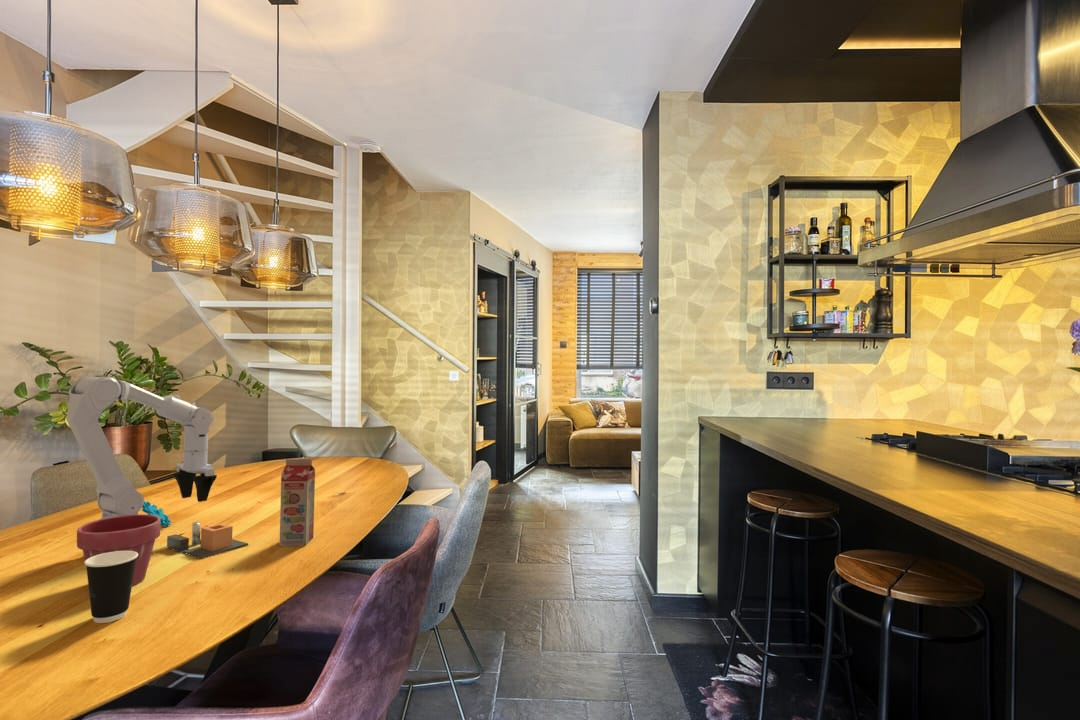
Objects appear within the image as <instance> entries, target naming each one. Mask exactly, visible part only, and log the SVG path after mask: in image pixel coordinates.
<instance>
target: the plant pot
mask: <svg viewBox="0 0 1080 720" xmlns="http://www.w3.org/2000/svg"><path fill="white" fill-rule="evenodd" d="M99 519H100V520H99ZM99 519H96V520H93V522H92V521H90V522H87V523H85V524H82V525H81V526H79V527H78V528H77V530H76V547H77V549H79V550H82V554H83V558H84V562H85V561H86V560H87V559H88V558H90V557H93V556H96V555H99V554H103V553H108V552H115V551H134V552H137V553H138V557H137V558H136V562H135V569H134V575H133V582H132V586H134V585H137V584H139V583H142V582H143V581H144V580H145V578H146V575H147V571H148V568H149V567H148V566H149V564H150V561H151V557H152V553H153V549H154V546H155V541H156V539H158V538H159V537H160V535H161V524H160V523H161V522H160V518H159V517H158V516H154V515H148V514H138V515H124V516H116V517H110V518H105V519H101V518H99Z"/></svg>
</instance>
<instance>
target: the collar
mask: <svg viewBox="0 0 1080 720" xmlns="http://www.w3.org/2000/svg"><path fill="white" fill-rule="evenodd" d="M233 528H234V527H233V526H232V525H229V524H224V523H216V524H213V525H210V526H204V527H200V546H201V548H203V549H206V550H210V551H216V550H219V549H223V548H226V547H230V546H232V539H233Z"/></svg>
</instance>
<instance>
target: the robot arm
mask: <svg viewBox="0 0 1080 720" xmlns="http://www.w3.org/2000/svg"><path fill="white" fill-rule="evenodd" d="M68 396H69V401H68V407H67V413H66V421H67V423H68V425H69V427H70V429H71V431H72V433H73V435H74V438H75V440H76V442H77V444H78V446H79V448H80V450H81V452H82V454H83V456H84V458H85V460H86V462H87V464H88V467H89V468H90V470H91V473H92V475H93V476H94V479H95V481H96V482H97V486H96V487H95V491H96V494H97V501H96V503H97V507H98V508H99V509H100V510H101V511H102V513H101V518H99V519H98V520H100V519H105V518H110V517H116V516H124V515H139V512H140V511H141V510H142V509H143V508H142V506H143V504H144V501H145V498H144V496H143V494H142V493H141V492H139V491H138V490H137V489H136V488H135V487H134V484H133V483H132V482H131V481H130V480H129V479H128V478H127V477H126V476H125V475H124V473H123V471H122V469H121V467H120V465H119V462H118V460H117V458H116V455H115V453H114V452H113V450H112V447H111V445H110V442H109V441H108V438H107V437H106V435H105V433H104V431H103V428H102V426H101V423H100V421H99V417H100V416H101V414H103V413H104V410H106V409H107V408H108V407H109V406H110V405H112V404H113V403H114V402H115V401H117V400H129V401H132V402H135V403H138V404H140V405H143V406H146V407H147V406H148V407H150V408H153V409H155V412H156V414H157V415H158V416H160V417H163V418H165V419H167V420H168V419H169V420H172V421H174V422H177V423H180V424H181V425H182V427H184V429H183V431H184V432H183V458H182V459H183V462H182V463H177V464H176V472H174V473H173V477H174V479H175V481H176V482H177V485H178V488H179V492H180V495H181V499H187V498H192V495H193V488H194V486H195V489H196V499H197V502H198V503H202V502H206V501H207V500H208V498H209V495H210V490H211V488H212V486H213V484H214V482H215V481H216V479H217V477H218V476H217V474H215V467H212V464H210V463H208V454H209V453H208V451H209V450H208V449H209V431H210V426H211V425H212V424H213V422H214V419H215V418H214V416H212V411H210V410H209V409H208V408H206V407H200V406H196V403H195V402H192V401H191V402H188V401H186V400H182V399H181V396H180V395H176V394H173V395H171V394H169V395H165V396H163V397H162V396H160V395H157V394H155V393H153V392H151V391H148V390H146V389H144V388H141V387H139V386H137V385H135V384H132V383H130V382H127V381H124V380H120V379H115V378H113V377H110V376H93V375H92V376H91V375H86V376H83V377H80V378H78V379H77V380H76V381H75V382H74V384H73V385H72V386H71V387H70V389H69V390H68ZM194 484H195V485H194ZM93 521H94V520H93ZM93 521H91V522H93Z"/></svg>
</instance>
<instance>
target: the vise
mask: <svg viewBox="0 0 1080 720" xmlns="http://www.w3.org/2000/svg"><path fill="white" fill-rule="evenodd" d="M191 530H192V531H191V545H192V546H198V545H197V544H199V545H201V521H197V522H192V526H191ZM167 547H168V548H170V549H169V550H172V549H174V550H173V551H175V550H177V551H176V552H178V551H180V552H179V553H182V552H181V551H184V550H188V549H190V548H189V547H190V538H189V537H187V536H183V535H180V534H176V533H175V534H171V535H167V537H166V548H167ZM168 548H167V549H168Z"/></svg>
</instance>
